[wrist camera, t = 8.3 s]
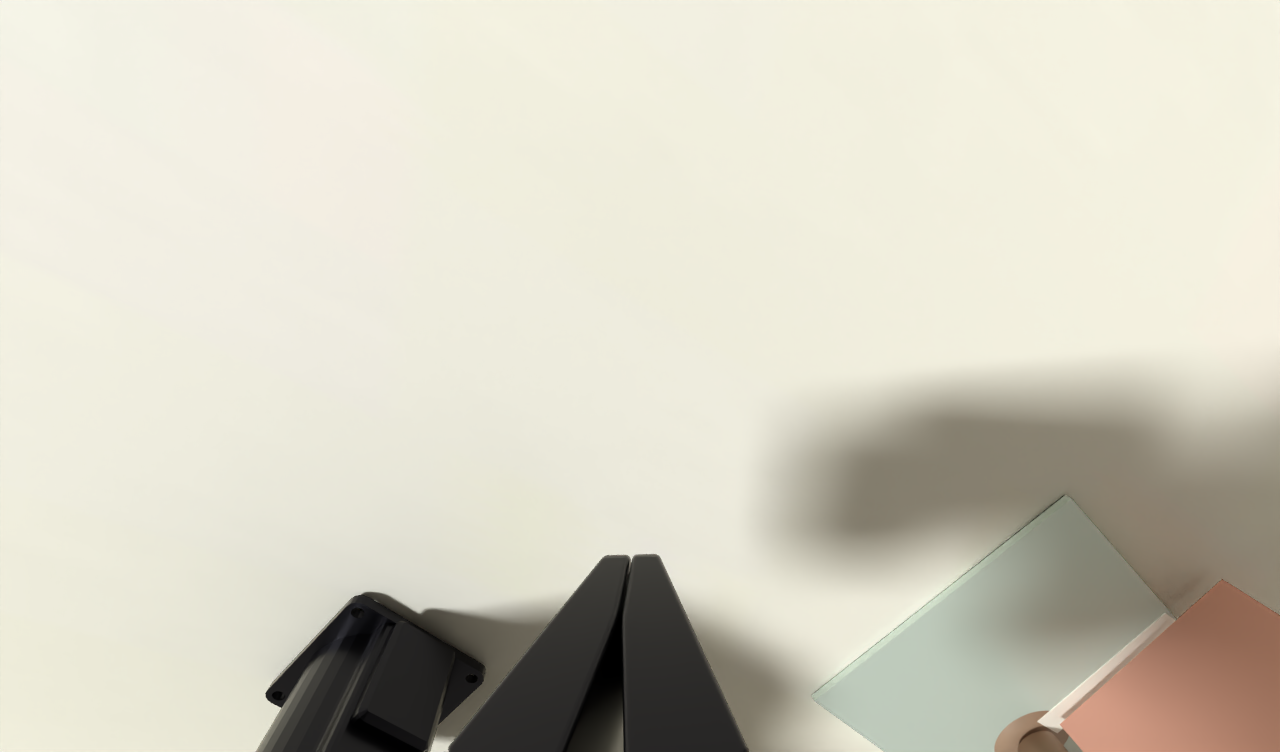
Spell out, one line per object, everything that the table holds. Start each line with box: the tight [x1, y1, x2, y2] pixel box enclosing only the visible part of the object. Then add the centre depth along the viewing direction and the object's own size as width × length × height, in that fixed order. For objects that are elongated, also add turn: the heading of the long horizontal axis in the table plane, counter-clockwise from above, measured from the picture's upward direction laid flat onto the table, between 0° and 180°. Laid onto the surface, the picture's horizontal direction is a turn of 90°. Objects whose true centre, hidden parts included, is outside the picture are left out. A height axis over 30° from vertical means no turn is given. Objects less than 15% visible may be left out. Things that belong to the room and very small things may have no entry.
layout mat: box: [812, 495, 1177, 752], centre depth 27 cm, size 14×22×1 cm, turn 46°
